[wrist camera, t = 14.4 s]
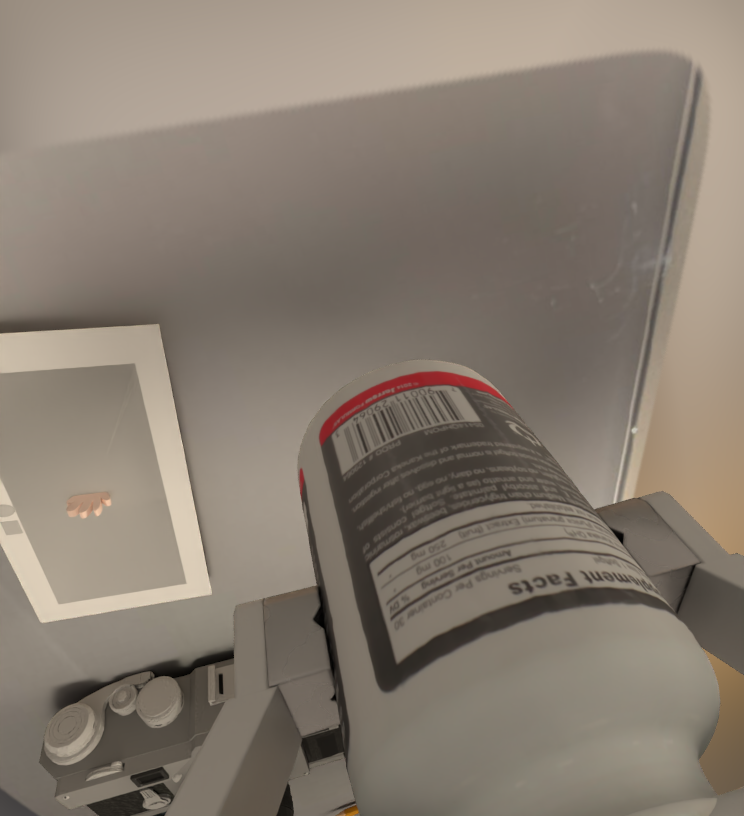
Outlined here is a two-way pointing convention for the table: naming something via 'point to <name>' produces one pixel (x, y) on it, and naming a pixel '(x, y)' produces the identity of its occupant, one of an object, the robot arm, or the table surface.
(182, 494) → the picture frame
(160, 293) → the table surface
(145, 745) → the camera
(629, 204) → the table surface
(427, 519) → the pill bottle
